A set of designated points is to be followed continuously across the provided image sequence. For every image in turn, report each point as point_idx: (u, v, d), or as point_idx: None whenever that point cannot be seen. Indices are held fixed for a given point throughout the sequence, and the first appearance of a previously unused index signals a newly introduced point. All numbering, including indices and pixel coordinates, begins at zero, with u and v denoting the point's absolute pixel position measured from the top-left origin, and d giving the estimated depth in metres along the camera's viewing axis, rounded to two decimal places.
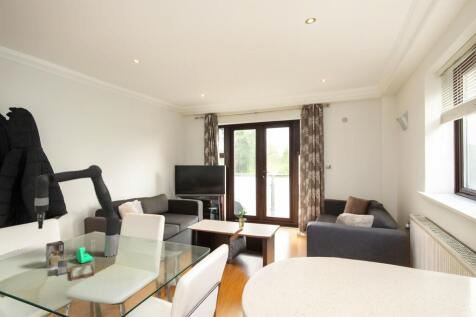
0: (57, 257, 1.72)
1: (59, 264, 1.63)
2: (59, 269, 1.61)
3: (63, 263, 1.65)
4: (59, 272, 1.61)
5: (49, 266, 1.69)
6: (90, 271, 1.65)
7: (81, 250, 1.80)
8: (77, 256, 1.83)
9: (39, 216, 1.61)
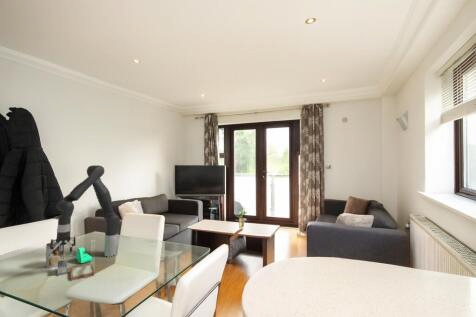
0: (57, 257, 1.72)
1: (59, 264, 1.63)
2: (59, 269, 1.61)
3: (63, 263, 1.65)
4: (59, 272, 1.61)
5: (49, 266, 1.69)
6: (90, 271, 1.65)
7: (81, 250, 1.80)
8: (76, 256, 1.82)
9: None
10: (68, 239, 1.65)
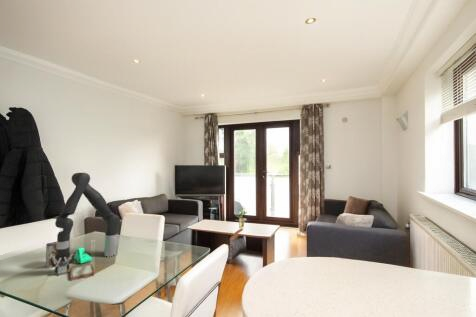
0: None
1: (59, 263, 1.63)
2: (59, 269, 1.61)
3: (63, 263, 1.65)
4: (59, 272, 1.61)
5: (49, 266, 1.69)
6: (90, 271, 1.65)
7: (80, 250, 1.79)
8: (76, 256, 1.82)
9: None
10: (68, 256, 1.66)
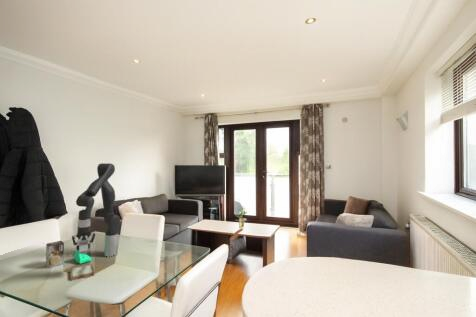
0: (57, 257, 1.72)
1: (80, 242, 1.63)
2: (80, 247, 1.61)
3: (84, 241, 1.64)
4: (80, 250, 1.61)
5: (49, 266, 1.69)
6: (90, 271, 1.65)
7: None
8: (75, 257, 1.81)
9: None
10: (89, 235, 1.65)
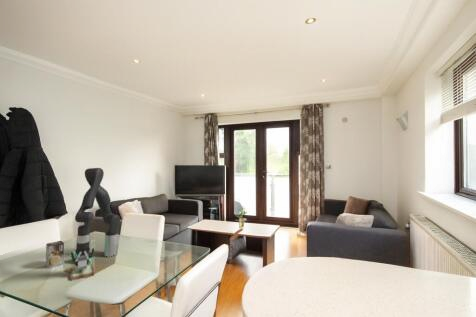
0: (57, 257, 1.72)
1: (79, 258, 1.63)
2: (79, 263, 1.61)
3: (83, 257, 1.64)
4: (79, 266, 1.61)
5: (49, 266, 1.69)
6: (90, 271, 1.65)
7: None
8: (75, 257, 1.81)
9: None
10: (87, 250, 1.65)
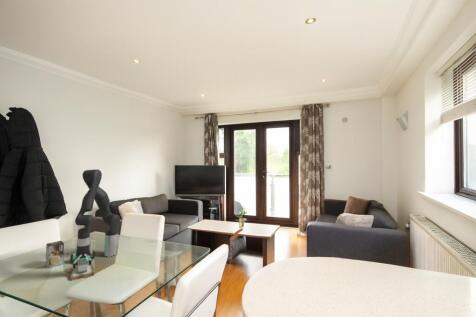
0: (57, 257, 1.72)
1: (79, 262, 1.64)
2: (80, 267, 1.61)
3: (83, 261, 1.65)
4: (80, 270, 1.62)
5: (49, 266, 1.69)
6: (90, 271, 1.65)
7: None
8: (74, 257, 1.81)
9: (94, 251, 1.68)
10: (87, 252, 1.65)
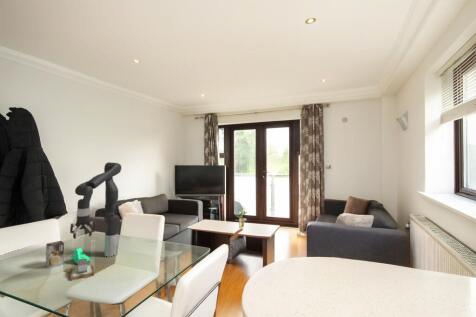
0: (57, 257, 1.72)
1: (79, 262, 1.64)
2: (80, 267, 1.61)
3: (83, 261, 1.65)
4: (80, 270, 1.62)
5: (49, 266, 1.69)
6: (90, 271, 1.65)
7: (78, 251, 1.78)
8: (74, 257, 1.81)
9: (94, 223, 1.69)
10: (88, 223, 1.66)
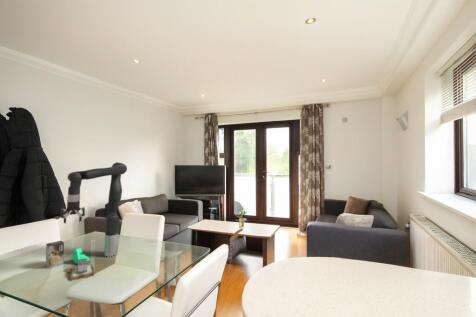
0: (57, 257, 1.72)
1: (79, 262, 1.64)
2: (80, 267, 1.61)
3: (83, 261, 1.65)
4: (80, 270, 1.62)
5: (49, 266, 1.69)
6: (90, 271, 1.65)
7: (78, 251, 1.78)
8: (73, 257, 1.80)
9: (84, 209, 1.75)
10: (78, 209, 1.73)
